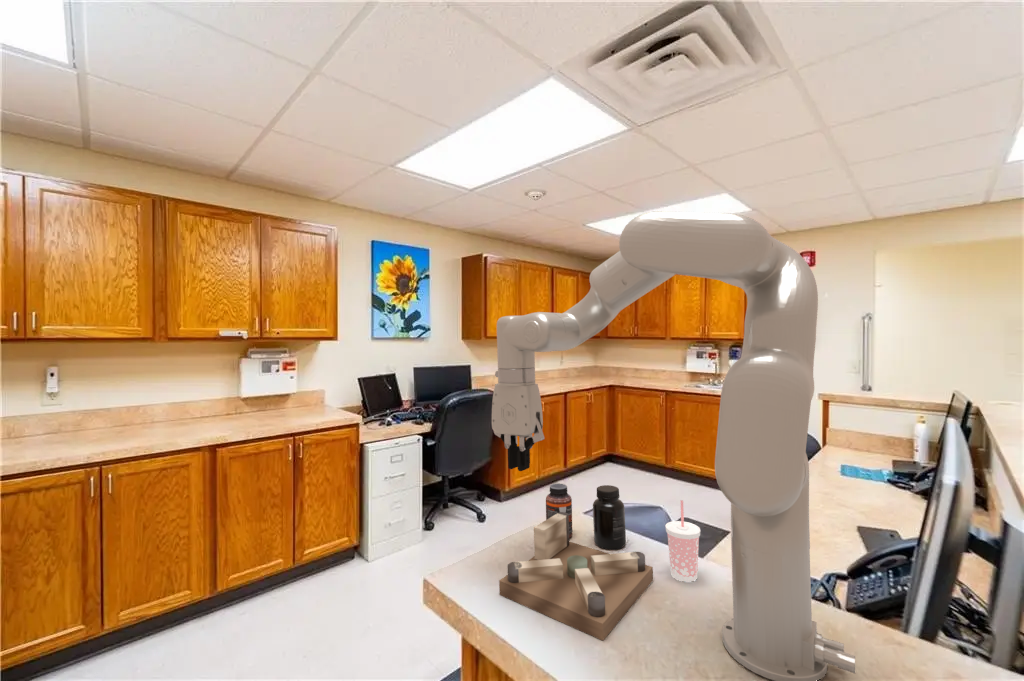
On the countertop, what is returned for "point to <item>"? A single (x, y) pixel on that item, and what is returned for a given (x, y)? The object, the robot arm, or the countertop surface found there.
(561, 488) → the supplement bottle
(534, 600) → the stool seat
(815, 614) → the countertop surface
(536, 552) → the hinged leg
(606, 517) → the supplement bottle
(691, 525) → the beverage cup
